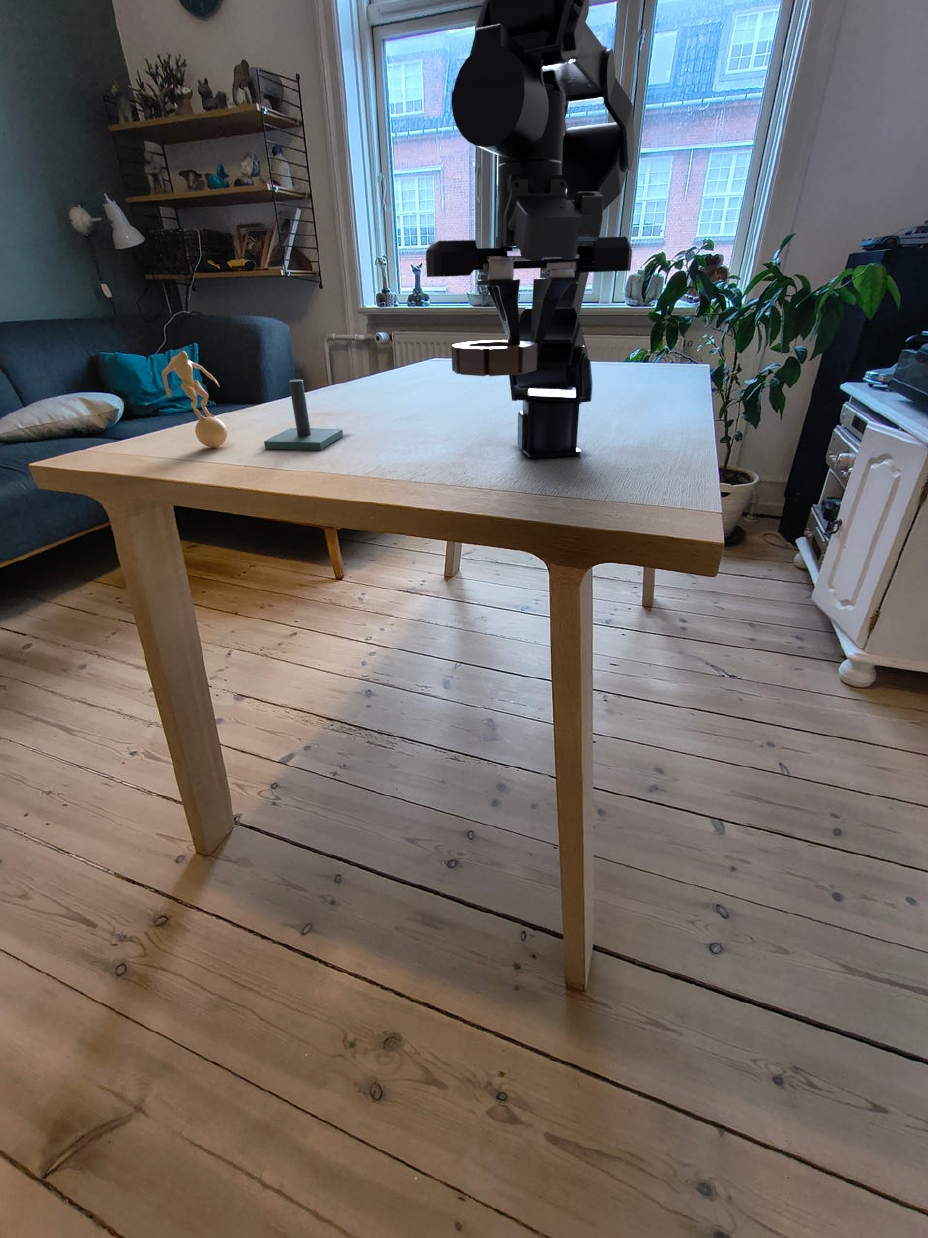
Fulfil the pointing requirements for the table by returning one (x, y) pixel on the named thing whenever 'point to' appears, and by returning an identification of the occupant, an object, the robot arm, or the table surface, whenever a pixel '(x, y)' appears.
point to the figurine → (208, 427)
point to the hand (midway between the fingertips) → (525, 357)
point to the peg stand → (302, 427)
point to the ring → (494, 358)
